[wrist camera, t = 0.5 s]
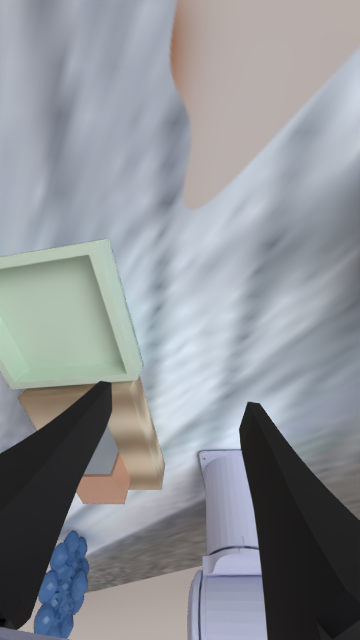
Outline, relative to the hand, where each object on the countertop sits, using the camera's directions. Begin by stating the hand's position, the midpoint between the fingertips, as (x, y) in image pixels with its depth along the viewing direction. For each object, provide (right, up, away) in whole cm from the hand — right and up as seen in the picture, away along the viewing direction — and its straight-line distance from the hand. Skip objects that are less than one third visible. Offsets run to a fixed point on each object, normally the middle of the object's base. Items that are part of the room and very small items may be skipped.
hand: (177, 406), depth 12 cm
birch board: (-9, -9, +16) cm, 20 cm away
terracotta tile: (-9, -13, +15) cm, 22 cm away
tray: (-11, +5, +10) cm, 16 cm away
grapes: (-17, -36, +30) cm, 50 cm away
